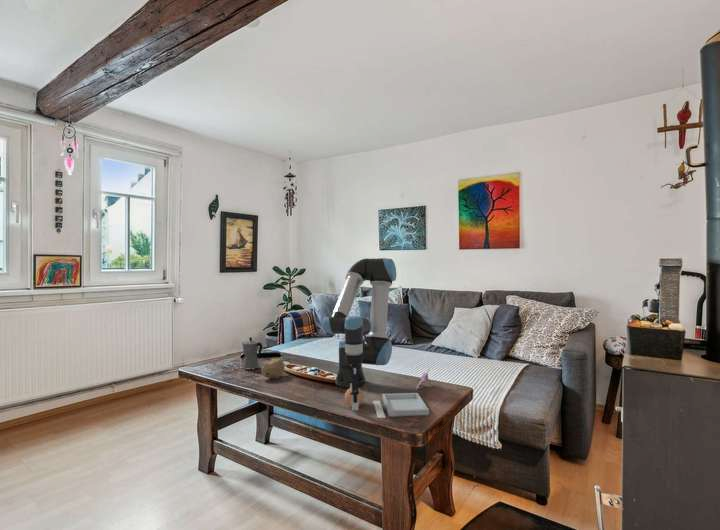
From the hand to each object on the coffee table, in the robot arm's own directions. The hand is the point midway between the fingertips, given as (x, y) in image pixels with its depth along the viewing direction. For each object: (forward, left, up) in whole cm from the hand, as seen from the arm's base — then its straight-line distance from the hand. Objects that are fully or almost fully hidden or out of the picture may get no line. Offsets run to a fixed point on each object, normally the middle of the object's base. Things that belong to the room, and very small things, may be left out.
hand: (354, 404), depth 157 cm
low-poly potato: (-45, -41, -1) cm, 61 cm away
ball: (0, 0, -1) cm, 1 cm away
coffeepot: (-65, -56, -1) cm, 86 cm away
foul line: (+4, +10, -1) cm, 11 cm away
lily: (-22, +36, -1) cm, 42 cm away
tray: (+2, +21, -1) cm, 21 cm away
